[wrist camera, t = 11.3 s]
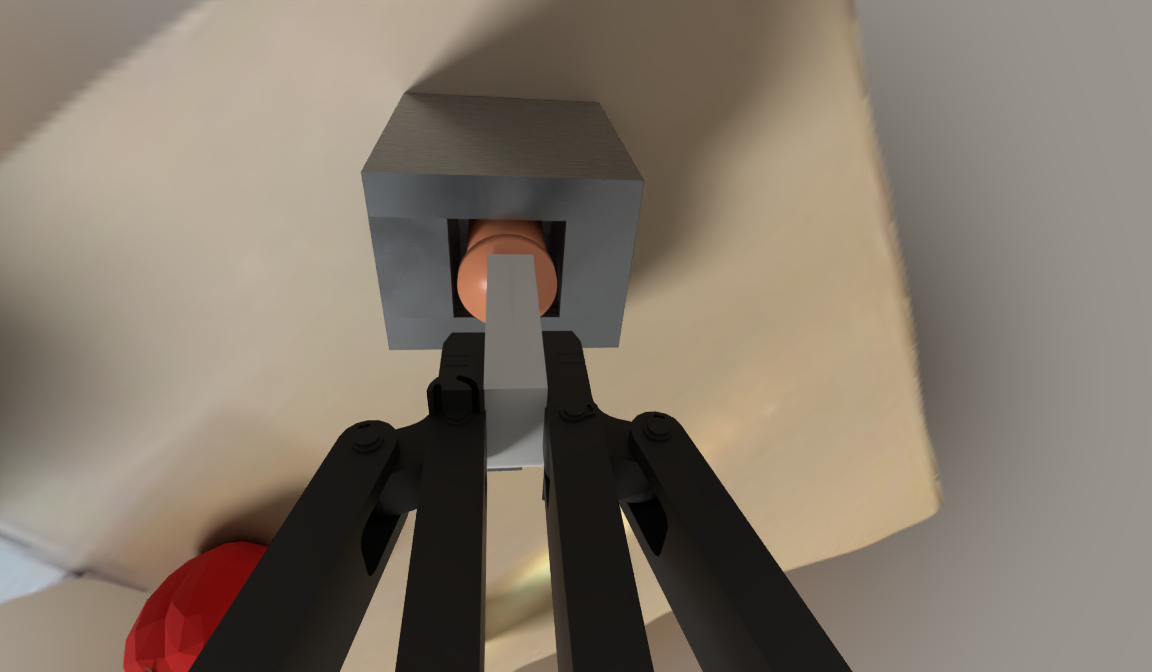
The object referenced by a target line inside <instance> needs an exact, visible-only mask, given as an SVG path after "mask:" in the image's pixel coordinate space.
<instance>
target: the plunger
mask: <svg viewBox="0 0 1152 672" xmlns="http://www.w3.org/2000/svg"><path fill="white" fill-rule="evenodd" d="M488 254H524V255H533V256H534V265H535V275H536V284H537V293H538V302H539V312H540V316H542V315H543V314H544V313H545V312H546V311H547V310H548V309H549V307H550V306H551V304H552V303H553V301H554V298H555V295H556V292H557V278H556V272H555V267H554V264H553V261H552V259H551V257H550V256H549V254H548V253H547V251H546V245H545V238H544V232H543V225H542V221H541V220H494V219H469V226H468V237H467V248H466V254H465V255H464V257H463V259H462V261H461V263H460V266H459V272H458V281H457V288H458V294H459V297H460V299H461V301H462V303H463V305H464V306H465V308H466V309H467V310H468V311H469V312H470V313H471V314H472V315H473V316H474V317H476V318H477V319H479V320H481V321H483V322H485V323H486V291H487V258H488Z"/></svg>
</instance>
